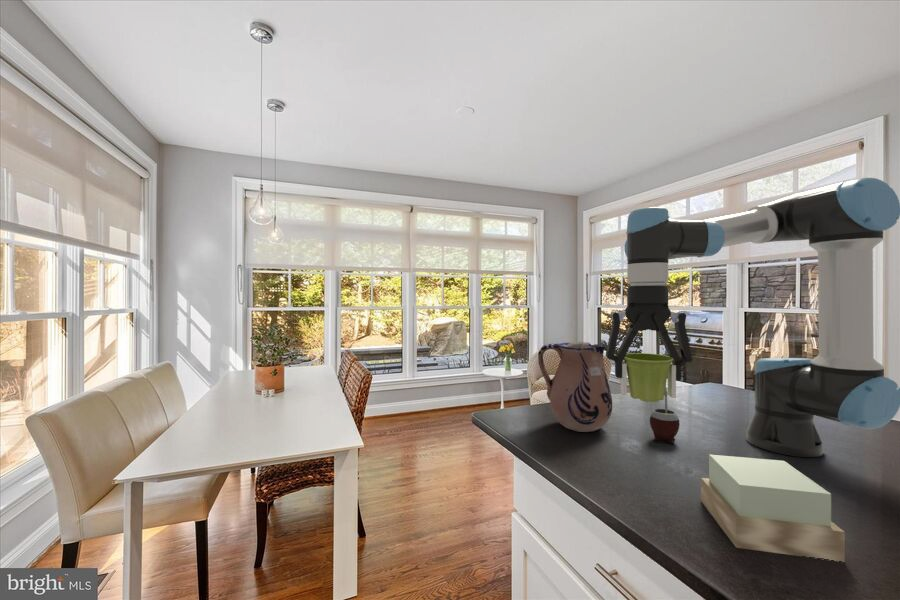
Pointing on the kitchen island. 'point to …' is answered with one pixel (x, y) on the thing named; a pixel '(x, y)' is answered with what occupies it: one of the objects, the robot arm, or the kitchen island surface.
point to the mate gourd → (664, 424)
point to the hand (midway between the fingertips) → (647, 394)
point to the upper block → (769, 490)
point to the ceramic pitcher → (578, 386)
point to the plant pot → (647, 375)
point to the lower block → (773, 531)
